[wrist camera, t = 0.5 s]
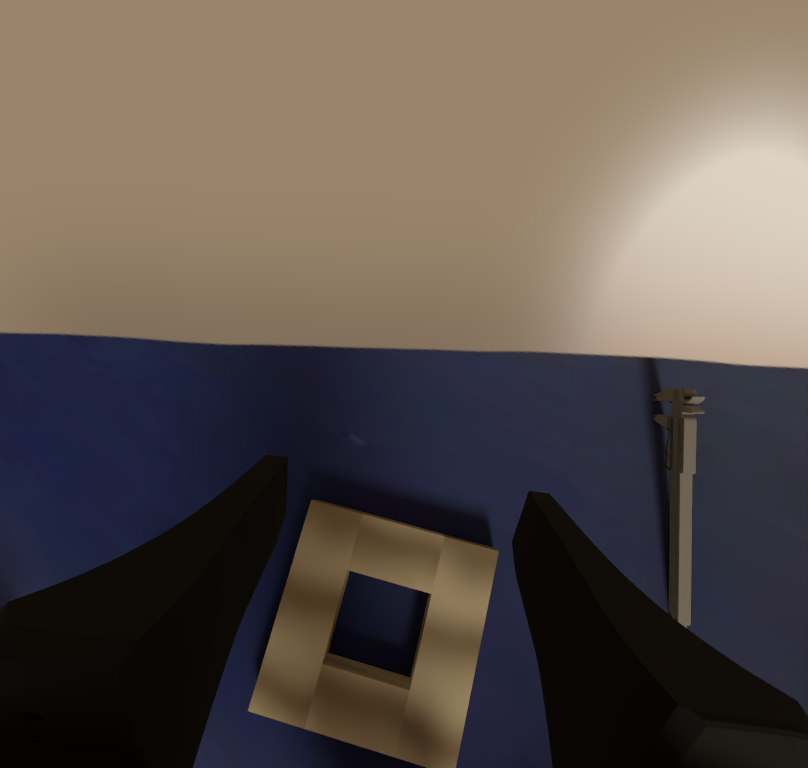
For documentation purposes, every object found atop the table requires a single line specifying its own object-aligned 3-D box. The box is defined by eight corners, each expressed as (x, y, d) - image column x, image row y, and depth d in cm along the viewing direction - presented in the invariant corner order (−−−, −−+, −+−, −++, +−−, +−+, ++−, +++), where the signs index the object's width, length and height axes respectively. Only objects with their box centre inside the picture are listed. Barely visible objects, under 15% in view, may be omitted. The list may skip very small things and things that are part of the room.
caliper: (649, 396, 42) (689, 379, 36) (660, 396, 42) (703, 379, 36) (669, 636, 37) (720, 664, 31) (682, 636, 37) (736, 665, 31)
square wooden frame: (451, 756, 35) (454, 776, 32) (258, 696, 36) (247, 711, 34) (493, 547, 39) (498, 551, 36) (317, 499, 40) (311, 499, 37)
